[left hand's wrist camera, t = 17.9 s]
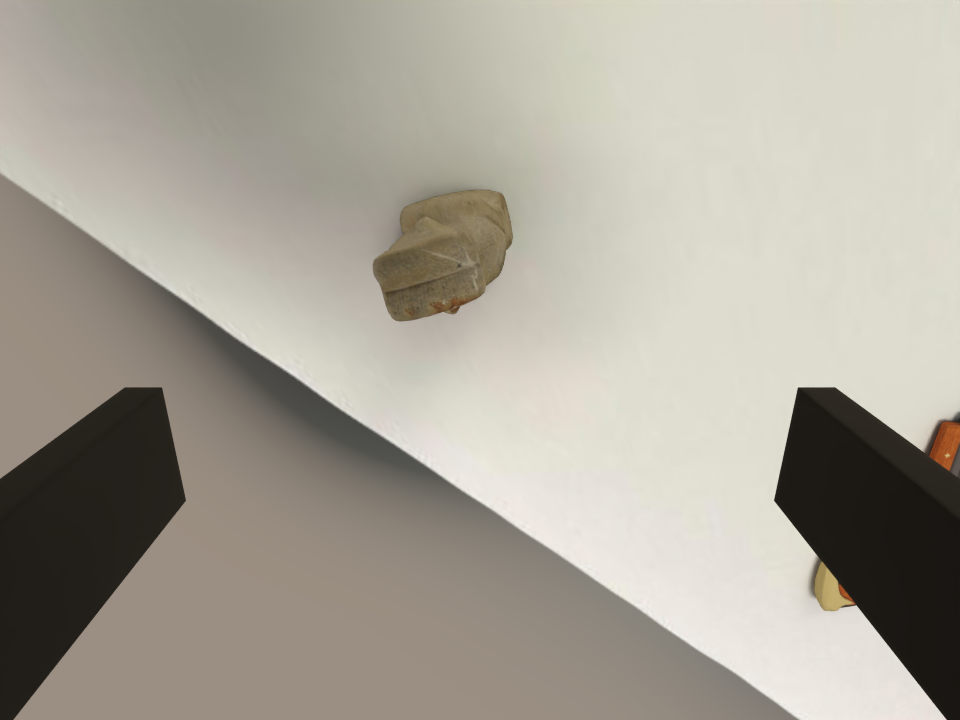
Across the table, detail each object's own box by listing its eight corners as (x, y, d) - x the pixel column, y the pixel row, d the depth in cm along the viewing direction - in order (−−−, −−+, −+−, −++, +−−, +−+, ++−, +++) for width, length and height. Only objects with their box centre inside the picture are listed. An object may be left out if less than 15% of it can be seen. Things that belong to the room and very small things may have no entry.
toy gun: (817, 617, 51) (941, 635, 50) (881, 410, 45) (1021, 426, 44) (804, 596, 53) (921, 612, 52) (863, 397, 48) (995, 413, 47)
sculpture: (395, 193, 40) (350, 227, 26) (499, 170, 40) (510, 193, 26) (416, 275, 42) (385, 348, 29) (515, 255, 42) (533, 319, 28)
